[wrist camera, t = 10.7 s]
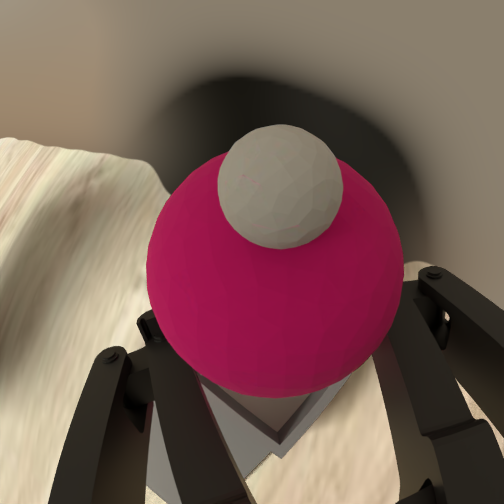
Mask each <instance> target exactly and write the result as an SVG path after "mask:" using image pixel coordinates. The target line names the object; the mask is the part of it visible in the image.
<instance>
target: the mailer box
mask: <svg viewBox="0 0 504 504" xmlns="http://www.w3.org/2000/svg"><path fill="white" fill-rule="evenodd" d="M351 374H352V373H351ZM351 374H349V375H348V376H346V377H345V378H344V379H342V380H341V381H339V382H337V383H335V384H332V385H330V386H328V387H326V388H324V389H321V390H319V391H316V392H312V393H308V394H305V395H301V396H294V397H287V398H277V399H275V398H263V397H255V396H248V395H242V394H240V393H237V392H234V391H232V390H229V389H227V388H224V387H222V386H220V385H217V384H215V383H213V382H212V381H210V380H209V379H207V378H206V377H204V376H203V375H200V373H198V372H197V375H198V378H199V380H200V382H201V385H202V387H203V390H204V392H205V395H206V397H207V400H208V402H209V404H210V407H211V409H212V411H213V414H214V416H215V418H216V421H217V423H218V425H219V427H220V430H221V432H222V434H223V436H224V439H225V441H226V443H227V445H228V447H229V449H230V451H231V454H232V456H233V458H234V460H235V462H236V464H237V466H238V468H239V470H240V472H241V474H242V476H243V478H245V477H246V476H247V475H248V474H249V473H250V472H251V471H252V470H253V469H254V468H255V467H256V466H257V465H258V464H259V463H260V462H261V461H262V460H263V459H264V458H265V457H266V456H267V455H268V454H269V453H270V452H272V453H273V454H275V455H276V456H278V457H279V458H281V459H282V458H283V457H284V456H285V454H286V453H287V452H288V451H289V450H290V449H291V448H292V447H293V446H294V445H295V443H296V442H297V441H298V440H299V439H300V438H301V437H302V436H303V434H304V433H305V432H306V431H307V430H308V429H309V427H310V426H311V425H312V424H313V423H314V421H315V420H316V419H317V418H318V417H319V415H320V414H321V413H322V412H323V410H324V409H325V408H326V407H327V405H328V404H329V403H330V402H331V400H332V399H333V398H334V397H335V395H336V394H337V393H338V391H339V390H340V389H341V387H342V386H343V385H344V383H345V382H346V381H347V379H348V378H349V376H350V375H351ZM153 402H154V407H153V415H152V423H151V433H150V442H149V453H148V464H147V477H146V486H148V487H149V488H150V489H151V490H152V491H153V492H154V493H156V494H157V495H158V496H159V497H160V498H162V499H163V500H164V501H165V502H166V503H168V504H182V503H181V500H180V497H179V494H178V490H177V487H176V484H175V480H174V477H173V474H172V470H171V466H170V463H169V459H168V455H167V451H166V447H165V443H164V439H163V435H162V431H161V427H160V422H159V418H158V413H157V408H156V403H155V401H153Z"/></svg>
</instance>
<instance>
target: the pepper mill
mask: <svg viewBox="0 0 504 504" xmlns="http://www.w3.org/2000/svg"><path fill="white" fill-rule="evenodd" d="M146 273H147V291H148V295H149V300H150V304H151V307H152V309H153V312H154V314H155V317H156V319H157V322H158V324H159V327H160V329H161V331H162V332H163V334H164V336H165V338H166V339H167V341H168V342H169V343H170V345H171V346H172V347H173V349H174V350H175V351H176V353H177V354H178V355H179V356H180V357H181V358H182V359H184V360H185V361H186V362H187V363H188V364H189V365H190V366H191V367H192V368H193V369H194V370H196V371H197V372H198V373H200V374H201V375H203V376H204V377H206V378H207V379H209V380H210V381H212V382H213V383H215V384H217V385H220V386H222V387H224V388H227V389H229V390H232V391H234V392H237V393H240V394H242V395H248V396H255V397H263V398H275V399H277V398H287V397H294V396H301V395H305V394H308V393H312V392H316V391H319V390H321V389H324V388H326V387H328V386H330V385H332V384H335V383H337V382H339V381H341V380H342V379H344V378H345V377H346V376H348V375H349V374H351V373H352V372H353V371H355V370H356V369H358V368H359V367H360V366H361V365H362V364H363V363H364V362H365V361H366V360H367V359H368V358H369V357H370V356H371V355H372V353H373V352H374V351H375V350H376V349H377V348H378V347H379V345H380V344H381V342H382V341H383V339H384V337H385V336H386V334H387V333H388V331H389V329H390V328H391V326H392V323H393V320H394V317H395V315H396V312H397V309H398V306H399V302H400V297H401V291H402V284H403V278H404V263H403V252H402V247H401V242H400V238H399V234H398V231H397V228H396V226H395V223H394V222H393V219H392V216H391V214H390V212H389V209H388V207H387V205H386V204H385V202H384V201H383V200H382V198H381V197H380V196H379V194H378V193H377V191H376V190H375V189H374V187H373V186H372V185H371V184H370V183H369V182H368V181H367V180H366V179H364V178H363V177H362V176H361V175H360V174H358V173H357V172H356V171H355V170H354V169H353V168H351V167H350V166H349V165H348V164H346V163H345V162H343V161H341V160H339V159H337V158H335V156H334V154H333V153H332V152H331V151H330V149H329V148H328V147H327V145H326V144H325V143H324V142H322V141H321V140H320V139H319V138H317V137H315V136H314V135H312V134H310V133H309V132H307V131H305V130H303V129H302V128H298V127H294V126H289V125H273V126H268V127H263V128H258V129H256V130H254V131H252V132H250V133H248V134H247V135H245V136H244V137H242V138H241V139H240V140H238V141H237V142H235V144H234V145H233V146H232V148H231V150H230V151H229V152H227V153H224V154H222V155H219V156H217V157H215V158H212V159H211V160H209V161H208V162H206V163H205V164H203V165H202V166H201V167H199V168H198V169H196V170H195V171H193V172H192V173H191V174H190V175H189V176H188V177H187V178H186V179H185V180H184V181H183V182H182V183H181V184H180V186H179V187H178V188H177V189H176V190H175V191H174V192H173V194H172V195H171V196H170V198H169V199H168V200H167V201H166V203H165V205H164V207H163V209H162V210H161V212H160V214H159V216H158V218H157V221H156V224H155V227H154V230H153V233H152V236H151V239H150V242H149V246H148V254H147V262H146Z"/></svg>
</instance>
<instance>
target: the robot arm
mask: <svg viewBox="0 0 504 504" xmlns="http://www.w3.org/2000/svg"><path fill="white" fill-rule="evenodd" d="M445 312H447V314H448V315H449V317H450V319H449V321H447V320H446V319H445ZM136 324H137V326H138V328H139V330H140V333H141V335H142V337H143V339H144V341H145V347H143V348H141V349H139V350H137V351H134V352H131V353H129V354H127V352H126V350H125V349H124V348H123V347H120V346H113V347H110V348H106V349H104V350H103V351H102V352H101V353H99V354H98V355H97V357H96V358H95V360H94V363H93V365H92V368H91V370H90V373H89V375H88V378H87V380H86V383H85V386H84V388H83V391H82V394H81V396H80V399H79V402H78V404H77V407H76V410H75V413H74V416H73V419H72V422H71V425H70V428H69V431H68V434H67V437H66V440H65V443H64V446H63V450H62V453H61V456H60V460H59V463H58V467H57V470H56V474H55V478H54V481H53V485H52V489H51V493H50V497H49V501H48V504H145V492H146V477H147V464H148V453H149V442H150V433H151V423H152V415H153V407H154V402H153V401H155V403H156V408H157V413H158V418H159V422H160V427H161V431H162V435H163V439H164V443H165V447H166V451H167V455H168V459H169V463H170V466H171V470H172V474H173V477H174V480H175V484H176V487H177V490H178V494H179V497H180V500H181V503H182V504H257V503H256V501H255V499H254V497H253V496H252V494H251V492H250V490H249V488H248V486H247V484H246V482H245V480H244V478H243V476H242V474H241V472H240V470H239V468H238V466H237V464H236V462H235V460H234V458H233V456H232V454H231V451H230V449H229V447H228V445H227V443H226V441H225V439H224V436H223V434H222V432H221V430H220V427H219V425H218V423H217V421H216V418H215V416H214V414H213V411H212V409H211V407H210V404H209V402H208V400H207V397H206V395H205V392H204V390H203V387H202V385H201V382H200V380H199V378H198V375H197V371H196V370H194V369H193V368H192V367H191V366H190V365H189V364H188V363H187V362H186V361H185V360H184V359H182V358H181V357H180V356H179V355H178V354H177V353H176V351H175V350H174V349H173V347H172V346H171V345H170V343H169V342H168V341H167V339H166V338H165V336H164V334H163V332H162V331H161V329H160V327H159V324H158V322H157V319H156V317H155V314H154V312H153V309H152V310H149V311H147V312H145V313H144V314H142V315H141V316H140V317H139V318H138V320H137V323H136ZM372 357H373V360H374V364H375V368H376V372H377V375H378V379H379V383H380V387H381V391H382V395H383V399H384V403H385V408H386V412H387V416H388V421H389V425H390V430H391V435H392V439H393V444H394V449H395V455H396V460H397V465H398V471H399V477H400V493H399V501H398V502H397V503H395V504H504V458H503V455H502V452H501V450H500V447H499V445H498V442H497V440H496V437H495V435H494V433H493V430H492V428H491V426H490V425H489V423H488V421H486V420H485V419H477V420H476V419H474V418H473V416H472V415H471V412H470V410H469V408H468V405H467V403H466V401H465V399H464V396H463V394H462V392H461V390H460V388H459V386H458V383H457V381H458V382H459V383H460V384H461V386H462V387H463V388H464V389H465V390H466V391H467V393H468V394H469V395H470V396H471V397H472V399H473V400H474V401H475V402H476V404H477V405H478V406H479V407H480V408H481V410H482V411H483V412H484V413H485V415H486V416H487V417H488V418H489V420H490V421H491V422H492V423H493V425H494V426H495V427H496V429H497V430H498V431H499V432H500V434H501V435H502V436H503V438H504V311H503V310H502V309H500V308H499V307H498V306H496V305H495V304H494V303H493V302H491V301H490V300H489V299H487V298H486V297H484V296H483V295H482V294H480V293H479V292H478V291H476V290H475V289H473V288H472V287H471V286H469V285H468V284H466V283H465V282H463V281H462V280H460V279H459V278H458V277H456V276H455V275H453V274H451V273H450V272H449V271H447V270H446V269H443V268H441V267H437V266H429V267H425V268H423V269H421V270H420V271H419V272H418V280H414V281H405V282H403V284H402V291H401V297H400V302H399V306H398V309H397V312H396V315H395V317H394V320H393V323H392V326H391V328H390V329H389V331H388V333H387V334H386V336H385V337H384V339H383V341H382V342H381V344H380V345H379V347H378V348H377V349H376V350H375V351H374V352H373V353H372ZM200 375H201V374H200ZM455 378H456V379H455ZM456 380H457V381H456Z"/></svg>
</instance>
